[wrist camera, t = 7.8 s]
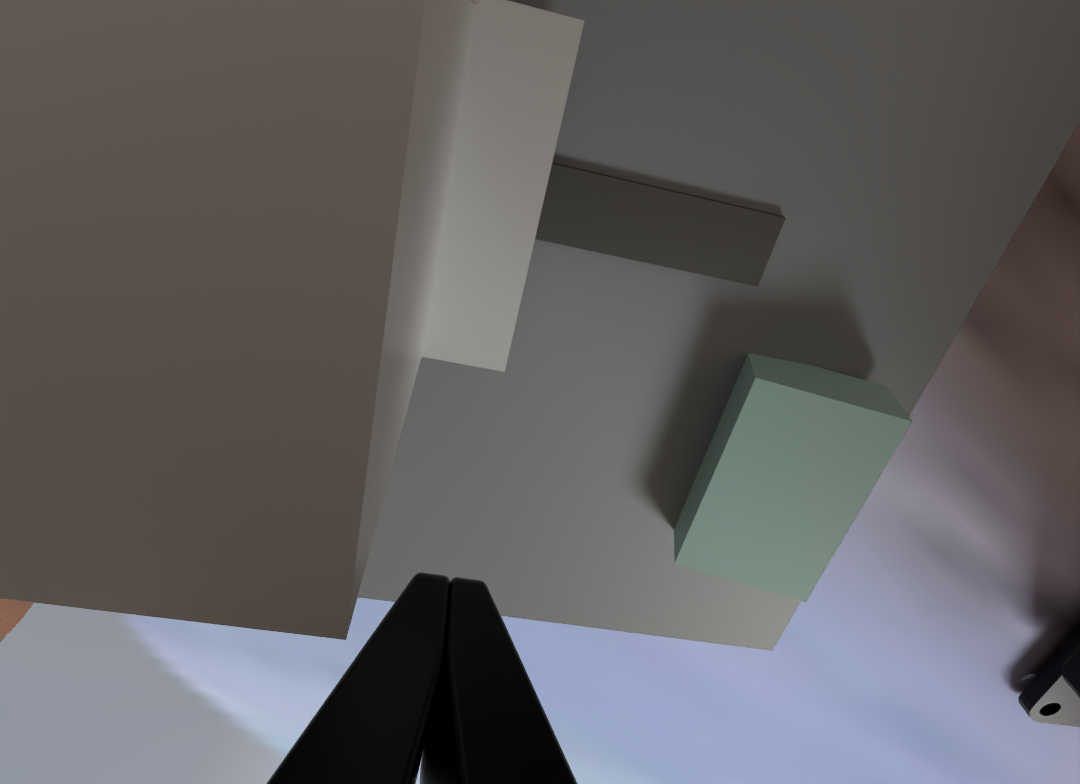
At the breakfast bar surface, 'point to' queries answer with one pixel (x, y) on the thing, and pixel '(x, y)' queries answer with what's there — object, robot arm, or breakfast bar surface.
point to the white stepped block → (248, 280)
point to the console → (728, 304)
